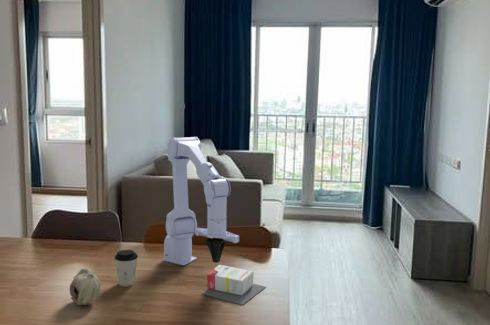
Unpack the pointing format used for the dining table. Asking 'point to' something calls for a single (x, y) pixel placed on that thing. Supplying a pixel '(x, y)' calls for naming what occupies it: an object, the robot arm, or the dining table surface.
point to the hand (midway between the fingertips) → (216, 261)
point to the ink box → (230, 279)
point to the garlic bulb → (84, 287)
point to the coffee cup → (126, 267)
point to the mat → (233, 297)
